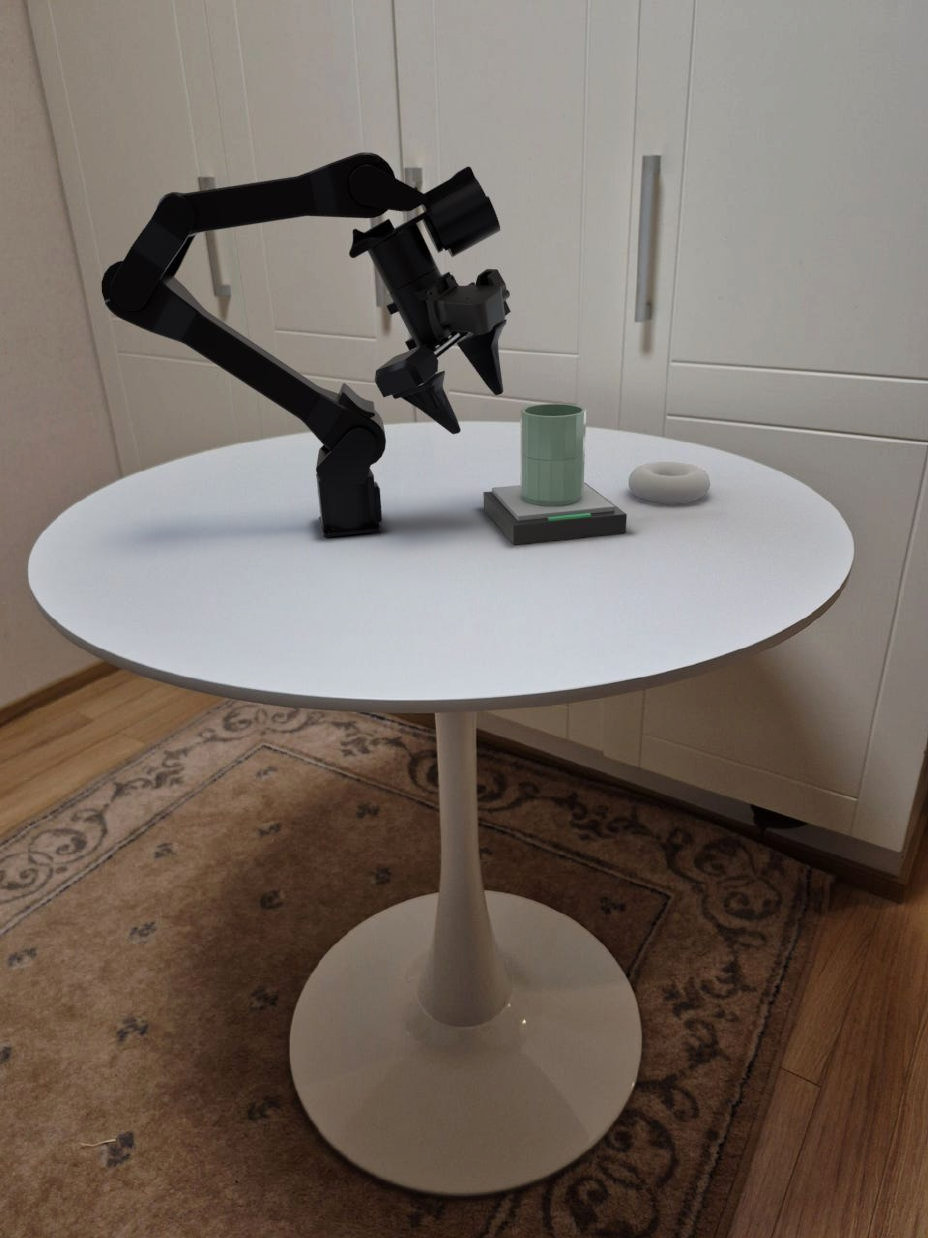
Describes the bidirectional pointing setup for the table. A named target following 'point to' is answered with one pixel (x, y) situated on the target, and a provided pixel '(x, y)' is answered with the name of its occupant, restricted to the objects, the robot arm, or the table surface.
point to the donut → (669, 482)
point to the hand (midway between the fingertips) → (478, 412)
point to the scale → (552, 516)
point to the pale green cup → (552, 453)
